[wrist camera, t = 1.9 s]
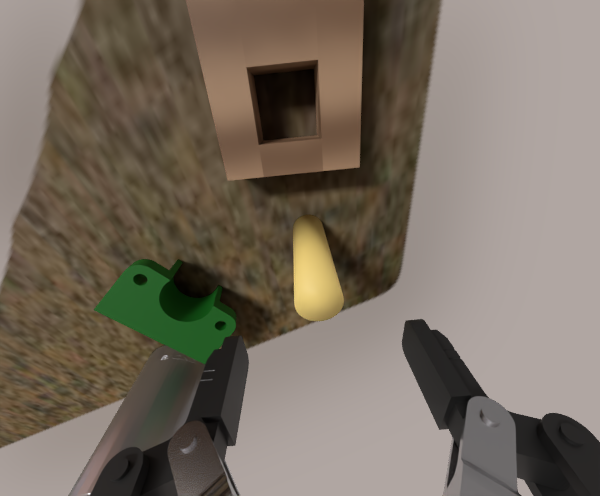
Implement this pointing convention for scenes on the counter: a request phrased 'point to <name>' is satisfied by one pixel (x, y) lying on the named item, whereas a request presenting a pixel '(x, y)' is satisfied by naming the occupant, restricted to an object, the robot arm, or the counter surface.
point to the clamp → (168, 310)
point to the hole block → (275, 59)
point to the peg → (314, 272)
